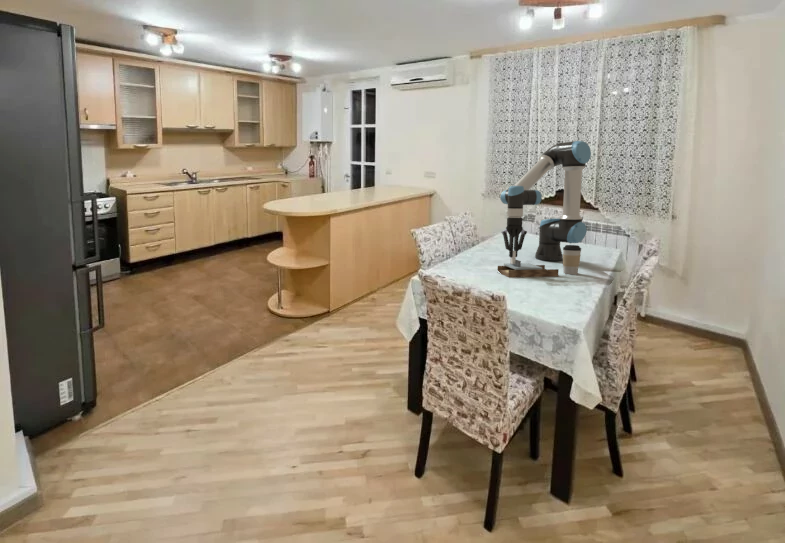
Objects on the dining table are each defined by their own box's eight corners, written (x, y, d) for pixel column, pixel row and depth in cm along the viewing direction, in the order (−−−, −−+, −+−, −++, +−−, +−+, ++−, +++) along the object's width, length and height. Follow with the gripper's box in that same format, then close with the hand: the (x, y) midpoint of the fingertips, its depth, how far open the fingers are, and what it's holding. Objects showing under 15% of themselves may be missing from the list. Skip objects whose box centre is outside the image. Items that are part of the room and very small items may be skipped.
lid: (529, 264, 254) (529, 257, 253) (542, 269, 239) (542, 261, 238) (503, 265, 252) (504, 257, 251) (515, 269, 236) (516, 262, 236)
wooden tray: (543, 271, 256) (544, 265, 255) (558, 276, 240) (558, 269, 240) (497, 272, 252) (497, 265, 251) (508, 277, 236) (509, 270, 236)
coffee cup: (558, 272, 254) (560, 243, 251) (574, 272, 254) (576, 243, 252) (565, 275, 245) (567, 245, 242) (582, 274, 246) (585, 245, 243)
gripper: (524, 216, 245) (521, 262, 249) (499, 216, 243) (497, 262, 247) (530, 217, 237) (528, 264, 241) (505, 217, 236) (503, 264, 239)
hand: (512, 263), depth 244 cm, fingers closed
